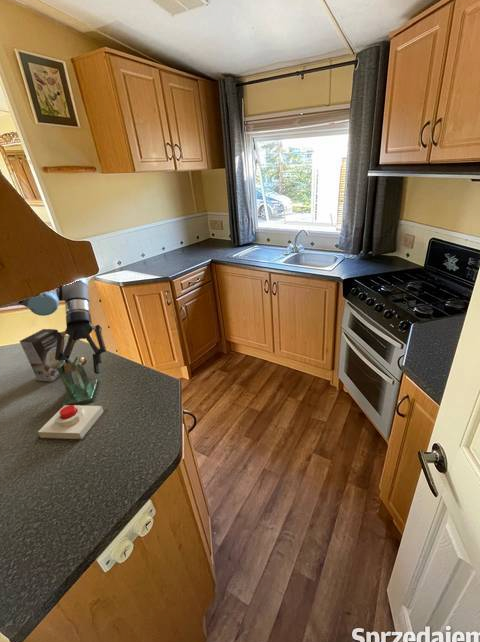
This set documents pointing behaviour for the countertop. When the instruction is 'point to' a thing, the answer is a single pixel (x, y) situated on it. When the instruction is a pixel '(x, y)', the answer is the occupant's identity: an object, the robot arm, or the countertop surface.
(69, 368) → the lever
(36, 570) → the countertop surface
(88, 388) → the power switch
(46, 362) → the coffee box
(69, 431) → the white button base
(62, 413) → the stop button
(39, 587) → the countertop surface
